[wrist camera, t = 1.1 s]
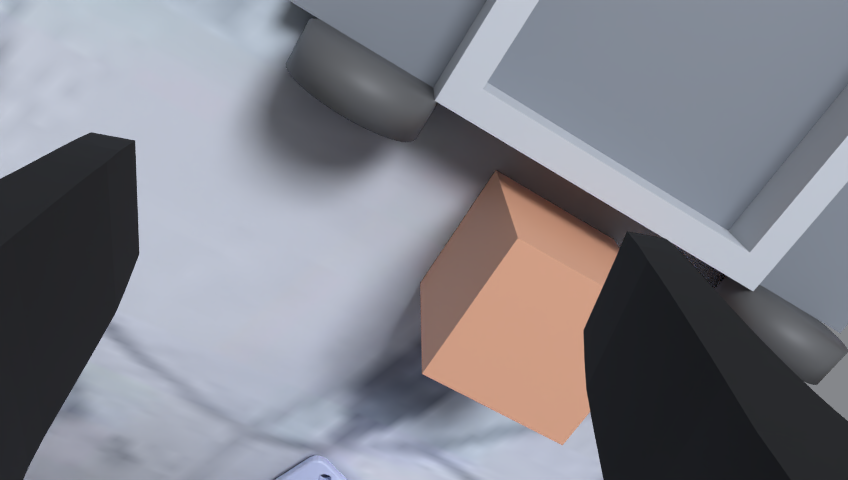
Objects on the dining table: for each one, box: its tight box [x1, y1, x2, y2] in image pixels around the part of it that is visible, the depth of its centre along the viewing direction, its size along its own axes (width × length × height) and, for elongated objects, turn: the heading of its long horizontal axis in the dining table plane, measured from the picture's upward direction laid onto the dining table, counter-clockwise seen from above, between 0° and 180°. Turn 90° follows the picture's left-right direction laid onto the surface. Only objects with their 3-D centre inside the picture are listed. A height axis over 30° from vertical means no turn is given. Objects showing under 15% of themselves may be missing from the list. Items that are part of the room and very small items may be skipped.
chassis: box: [286, 0, 848, 385], centre depth 22 cm, size 22×15×4 cm
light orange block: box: [420, 170, 619, 445], centre depth 25 cm, size 5×5×6 cm
